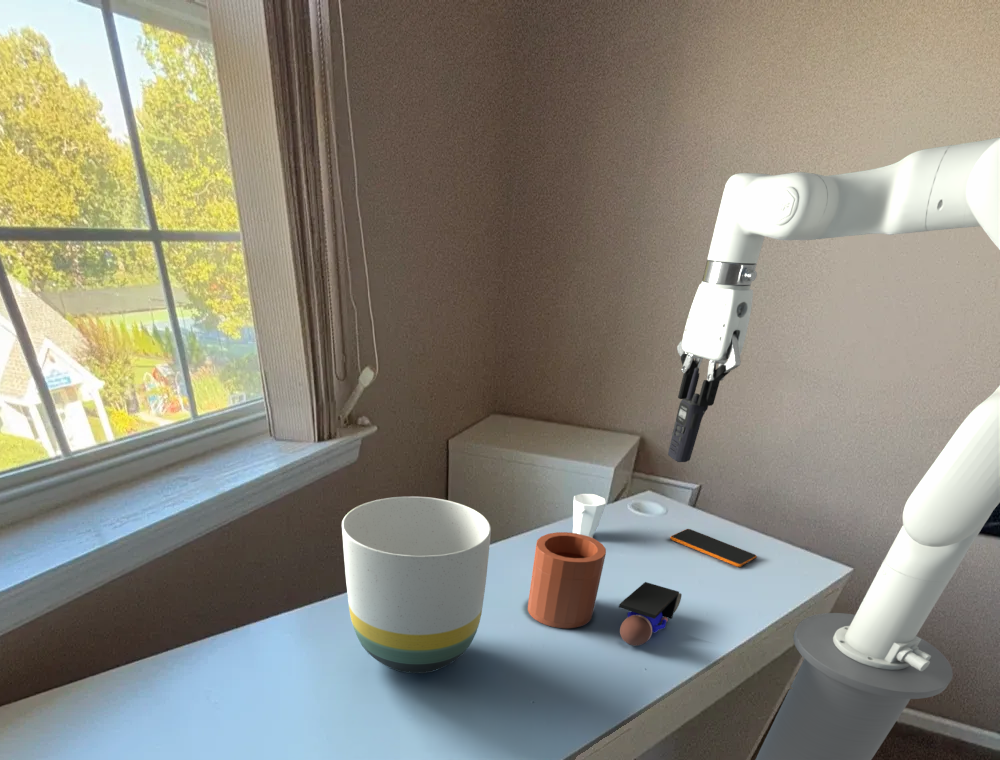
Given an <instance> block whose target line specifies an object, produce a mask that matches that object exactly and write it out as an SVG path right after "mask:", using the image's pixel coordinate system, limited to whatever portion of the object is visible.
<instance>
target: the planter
mask: <svg viewBox="0 0 1000 760" xmlns="http://www.w3.org/2000/svg"><path fill="white" fill-rule="evenodd" d="M491 532H492V528H491V524H490V522H489V521H488V519H487V518H486V517H485V516H484V515H483V514H482V513H480V512H479V511H477V510H476V509H474V508H471V507H469V506H467V505H465V504H462V503H459V502H455V501H452V500H447V499H443V498H436V497H428V496H394V497H385V498H381V499H380V498H379V499H376V500H371V501H368V502H365V503H362V504H360V505H357V506H356V507H354V508H352V509H351V510H350V511H348V512H347V514H345V516H344V517H343V519H342V521H341V535H342V549H343V561H344V574H345V583H346V592H347V601H348V611H349V615H350V620H351V623H352V627H353V630H354V632H355V635H356V637H357V639H358V641H359V643H360V645H361V646H362V647H363V649H364V650H365V651H366V652H367V653H368V655H370V656H371V657H372V658H373V659H374V660H376V661H377V662H378V663H380V664H382V665H383V666H386V667H387V668H389V669H392V670H396V671H398V672H402V673H406V674H407V673H408V674H425V673H431V672H435V671H438V670H441V669H443V668H445V667H447V666H450V665H451V664H452V663H454V662H456V661H457V660H458V659H459V658H460V657H462V656H463V655H464V654H465V652H467V650H468V649H469V647H470V646H471V644H472V642H473V641H474V638H475V636H476V634H477V631H478V629H479V625H480V622H481V618H482V613H483V606H484V599H485V591H486V584H487V576H488V568H489V567H488V565H489V556H490V547H491V535H492V533H491Z"/></svg>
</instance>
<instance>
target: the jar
mask: <svg viewBox="0 0 1000 760" xmlns="http://www.w3.org/2000/svg"><path fill="white" fill-rule="evenodd" d="M606 550H607V548H606V547H605V546H604V544H603V543H602V542H600V541H598V540H597V539H595V538H594V537H593V538H591V537H588V536H585V535H581V534H576V533H572V532H567V531H563V532H562V531H561V532H560V531H557V532H556V531H555V532H551V533H546V534H544V535H542V536H540V537H539V538H538V539H537V540H536V544H535V550H534V557H533V565H532V573H531V580H530V587H529V593H528V600H527V601H528V602H527V612H528V614H529V615H530V617H531V618H532V619H534V620H535V621H536V622H539V623H540V624H542V625H545V626H548V627H551V628H557V629H575V628H576V629H577V628H580V627H583V626H586V625H587V624H588V623H589V622H590V621H591V619H592V618H593V615H594V614H593V613H594V611H595V605H596V600H597V596H598V591H599V586H600V583H601V579H602V573H603V569H604V563H605V558H606V554H607V552H606Z"/></svg>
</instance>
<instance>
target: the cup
mask: <svg viewBox="0 0 1000 760" xmlns="http://www.w3.org/2000/svg"><path fill="white" fill-rule="evenodd" d="M606 504H607V501H606V498H604V497H602V496H599V495H598V494H593V493H580V494H576V495H573V505H572V506H573V507H572V508H573V511H572V525H573V527H572V532H571V533H576V534H581V535H585V536H588V537H591V538H593V539H594V535H595V533H596V531H597V529H598V527H599V524H600V521H601V518H602V516H603V513H604V510H605V507H606Z"/></svg>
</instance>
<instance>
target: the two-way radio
mask: <svg viewBox="0 0 1000 760" xmlns="http://www.w3.org/2000/svg"><path fill="white" fill-rule="evenodd" d="M698 373H700V367H699V368H698V367H696V368H695V370H694V373H693V376H692V380H691V383H690V387H689V391H688V395H687V398H686V399H680V401H679V406H678V408H677V409H678V410H677V413H676V416H675V422H674V425H673V431H672V432H671V439H670V442H669V447H668V452H667V455H668V457H670V458H671V459H672V460H674V461H675V462H677V463H687V462H689V461H691V457H692V455H693V451H694V447H695V444H696V441H697V437H698V434H699V431H700V427H701V423H702V420H703V417H704V415H705V413H706V412H707V410H708V409H709V406H698V404H697V403H698V399H699V395H700V393H695V394H694V391H695V386H696V382H697V378H698ZM695 392H696V391H695ZM693 395H694V396H693Z"/></svg>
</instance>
